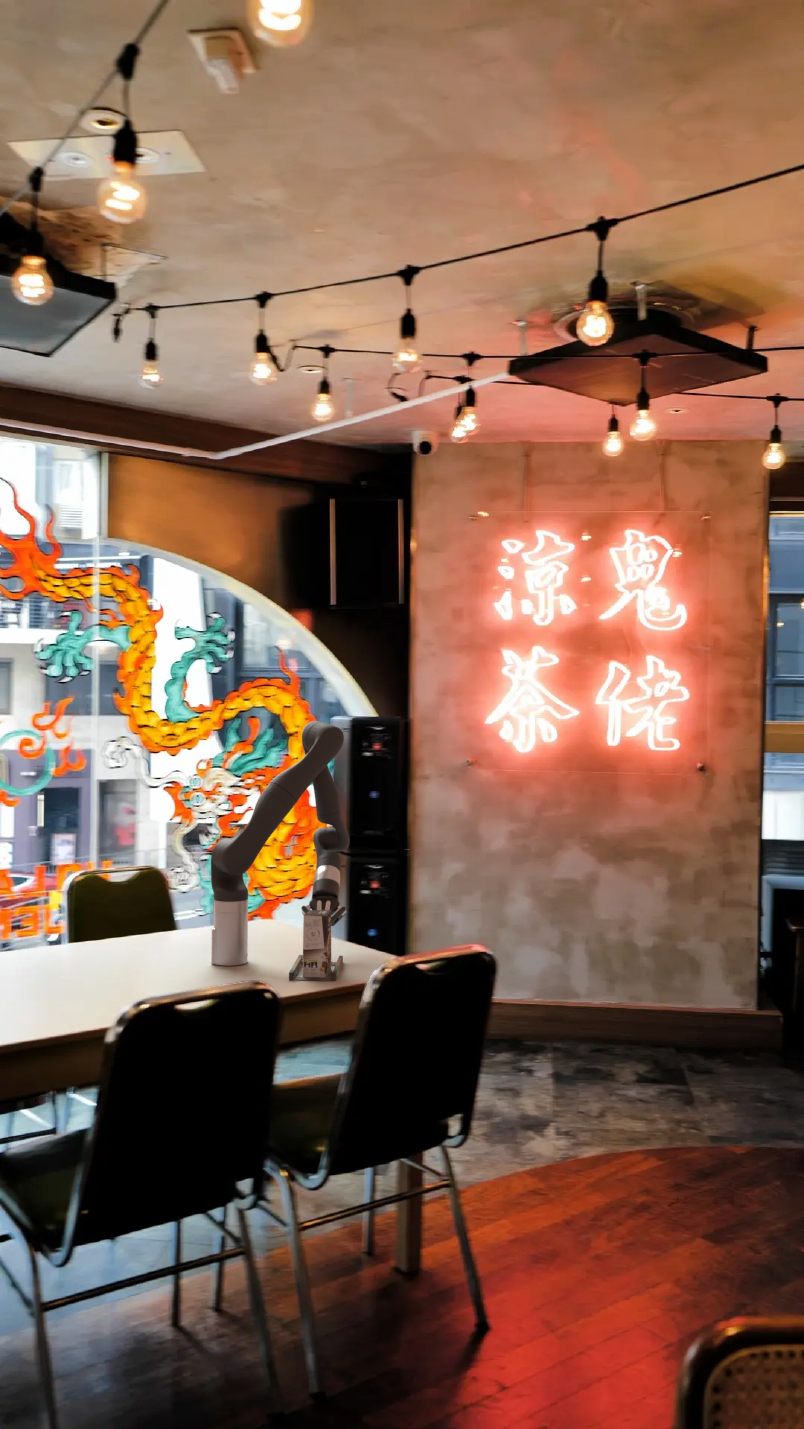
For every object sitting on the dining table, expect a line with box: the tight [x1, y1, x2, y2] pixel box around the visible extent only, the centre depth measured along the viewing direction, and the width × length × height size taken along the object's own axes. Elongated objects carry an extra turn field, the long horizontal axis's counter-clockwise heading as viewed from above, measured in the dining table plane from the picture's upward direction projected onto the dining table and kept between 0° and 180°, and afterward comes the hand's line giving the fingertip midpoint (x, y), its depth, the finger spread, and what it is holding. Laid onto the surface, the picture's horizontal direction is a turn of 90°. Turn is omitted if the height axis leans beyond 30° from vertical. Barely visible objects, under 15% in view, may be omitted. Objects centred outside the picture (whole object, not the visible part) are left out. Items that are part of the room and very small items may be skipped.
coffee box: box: [302, 909, 333, 978], centre depth 295 cm, size 9×6×16 cm
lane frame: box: [288, 954, 344, 982], centre depth 298 cm, size 12×21×2 cm, turn 178°
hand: (321, 937), depth 307 cm, fingers closed
